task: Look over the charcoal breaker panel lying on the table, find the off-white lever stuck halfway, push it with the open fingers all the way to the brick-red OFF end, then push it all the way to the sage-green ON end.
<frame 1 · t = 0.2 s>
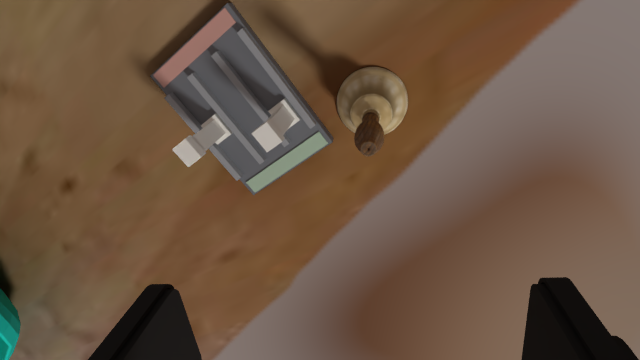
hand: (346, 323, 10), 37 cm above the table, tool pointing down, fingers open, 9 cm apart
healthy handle: (277, 124, 40), point 6 cm above the table, slide at 7.0 cm
panel: (245, 106, 46), on the table
tripped handle: (204, 139, 42), point 6 cm above the table, slide at 3.5 cm
hand bell: (371, 102, 44), on the table
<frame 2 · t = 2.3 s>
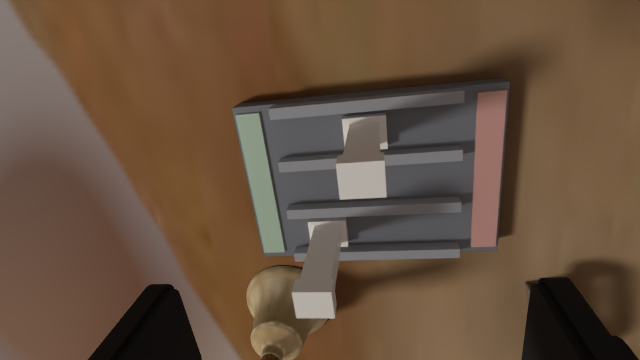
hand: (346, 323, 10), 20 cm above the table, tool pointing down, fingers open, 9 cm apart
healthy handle: (322, 261, 27), point 6 cm above the table, slide at 7.0 cm
panel: (369, 173, 30), on the table
tripped handle: (363, 151, 23), point 6 cm above the table, slide at 3.5 cm
hand bell: (289, 299, 36), on the table
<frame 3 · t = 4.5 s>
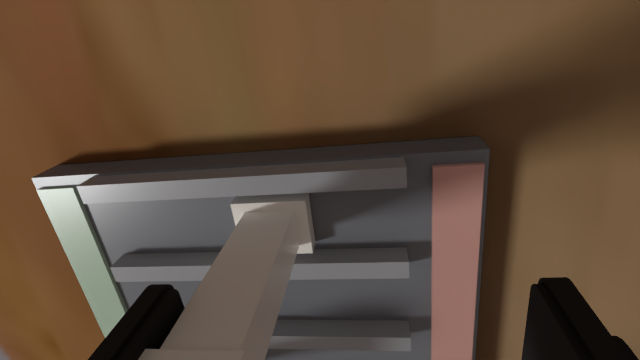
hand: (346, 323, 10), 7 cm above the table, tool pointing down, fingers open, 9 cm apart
panel: (273, 273, 19), on the table
tripped handle: (244, 289, 12), point 6 cm above the table, slide at 2.3 cm, touching gripper
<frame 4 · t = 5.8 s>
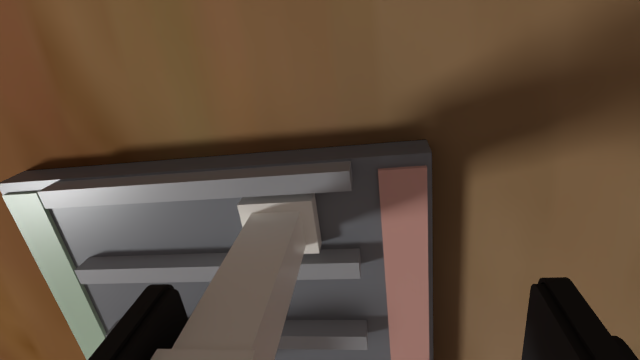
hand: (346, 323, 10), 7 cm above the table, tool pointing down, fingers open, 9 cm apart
panel: (237, 274, 19), on the table
tripped handle: (253, 289, 12), point 6 cm above the table, slide at 0.1 cm
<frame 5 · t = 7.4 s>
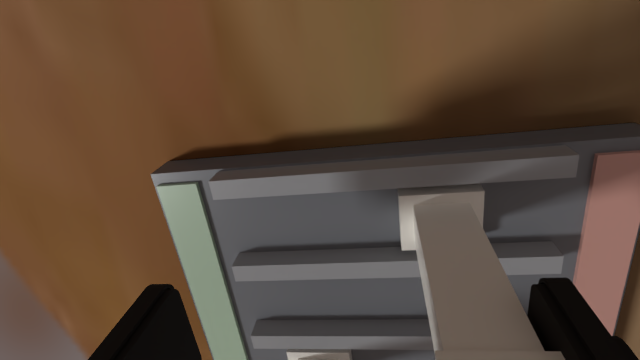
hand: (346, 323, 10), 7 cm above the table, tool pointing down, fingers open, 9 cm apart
panel: (386, 271, 18), on the table
tripped handle: (461, 285, 11), point 6 cm above the table, slide at 1.4 cm, touching gripper
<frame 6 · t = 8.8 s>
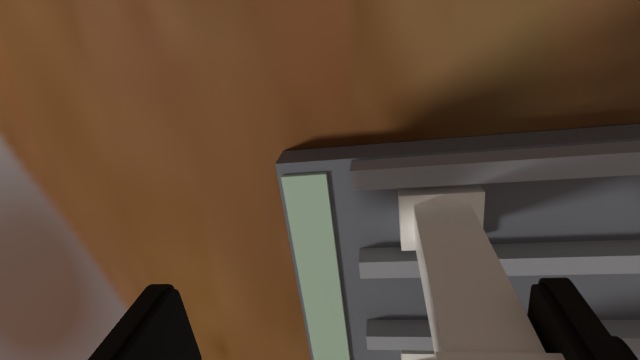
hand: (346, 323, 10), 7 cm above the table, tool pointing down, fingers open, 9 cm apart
panel: (506, 268, 17), on the table
tripped handle: (461, 286, 11), point 6 cm above the table, slide at 6.8 cm, touching gripper
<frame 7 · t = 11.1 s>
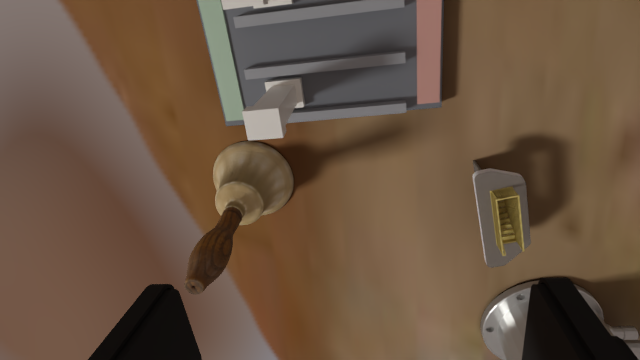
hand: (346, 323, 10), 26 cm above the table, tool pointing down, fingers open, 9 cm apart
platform: (486, 191, 37), on the table
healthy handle: (276, 106, 28), point 6 cm above the table, slide at 7.0 cm
panel: (322, 36, 31), on the table
hand bell: (254, 178, 38), on the table
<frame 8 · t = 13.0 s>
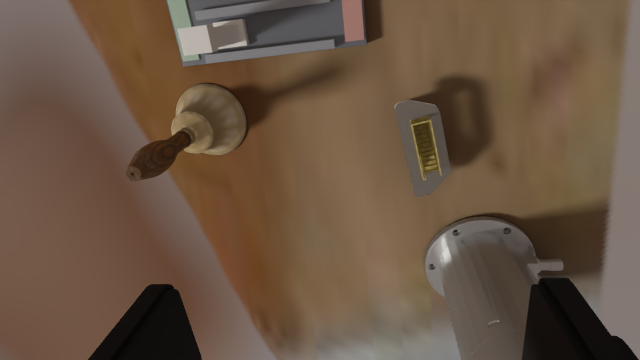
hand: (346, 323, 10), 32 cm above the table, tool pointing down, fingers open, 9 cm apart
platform: (419, 132, 41), on the table
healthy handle: (216, 36, 33), point 6 cm above the table, slide at 7.0 cm
hand bell: (212, 119, 43), on the table
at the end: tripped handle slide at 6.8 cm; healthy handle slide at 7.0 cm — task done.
